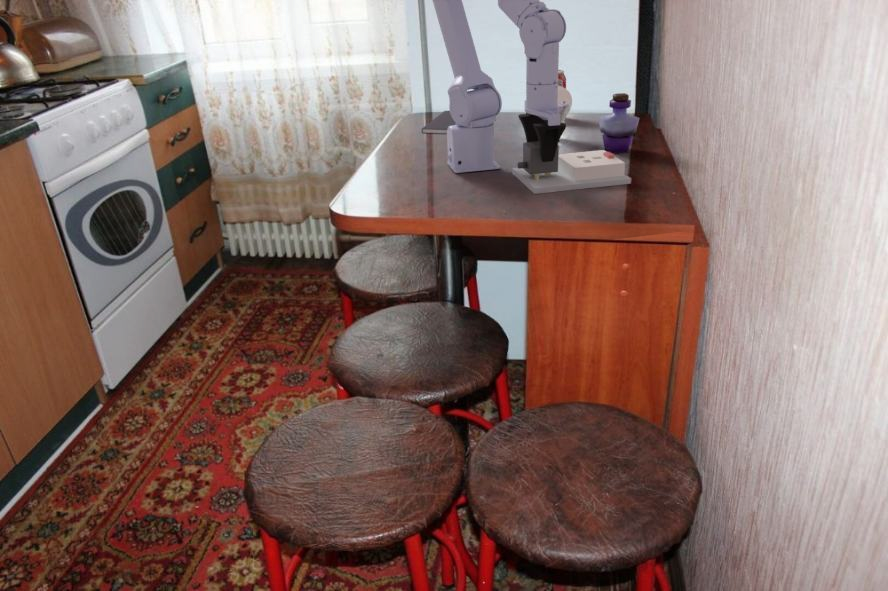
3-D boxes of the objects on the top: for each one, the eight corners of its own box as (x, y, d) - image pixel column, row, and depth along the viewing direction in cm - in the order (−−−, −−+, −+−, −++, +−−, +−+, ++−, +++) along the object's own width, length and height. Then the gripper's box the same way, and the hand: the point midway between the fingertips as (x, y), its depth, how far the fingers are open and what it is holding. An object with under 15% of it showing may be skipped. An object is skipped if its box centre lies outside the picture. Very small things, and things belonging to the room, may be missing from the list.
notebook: (445, 116, 197) (421, 134, 178) (444, 110, 196) (421, 128, 178) (490, 117, 193) (471, 136, 175) (490, 111, 193) (471, 129, 174)
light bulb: (576, 140, 166) (578, 86, 160) (549, 144, 163) (551, 90, 158) (561, 134, 171) (562, 82, 166) (535, 137, 169) (536, 85, 164)
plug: (514, 175, 139) (515, 143, 137) (549, 171, 141) (550, 140, 138) (521, 181, 135) (522, 149, 133) (557, 178, 137) (558, 145, 134)
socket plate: (555, 166, 143) (556, 151, 142) (603, 162, 145) (603, 146, 144) (574, 180, 135) (574, 164, 133) (624, 175, 136) (625, 159, 135)
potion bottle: (645, 149, 156) (650, 93, 151) (620, 157, 151) (624, 99, 146) (614, 143, 162) (617, 88, 157) (588, 150, 157) (591, 94, 152)
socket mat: (534, 193, 132) (534, 188, 131) (512, 173, 144) (512, 168, 144) (630, 183, 135) (631, 178, 135) (601, 164, 147) (601, 159, 147)
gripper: (577, 87, 125) (574, 163, 131) (549, 74, 138) (548, 145, 143) (538, 90, 124) (537, 167, 129) (514, 77, 136) (514, 148, 142)
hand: (540, 156), depth 136 cm, fingers open, 7 cm apart
